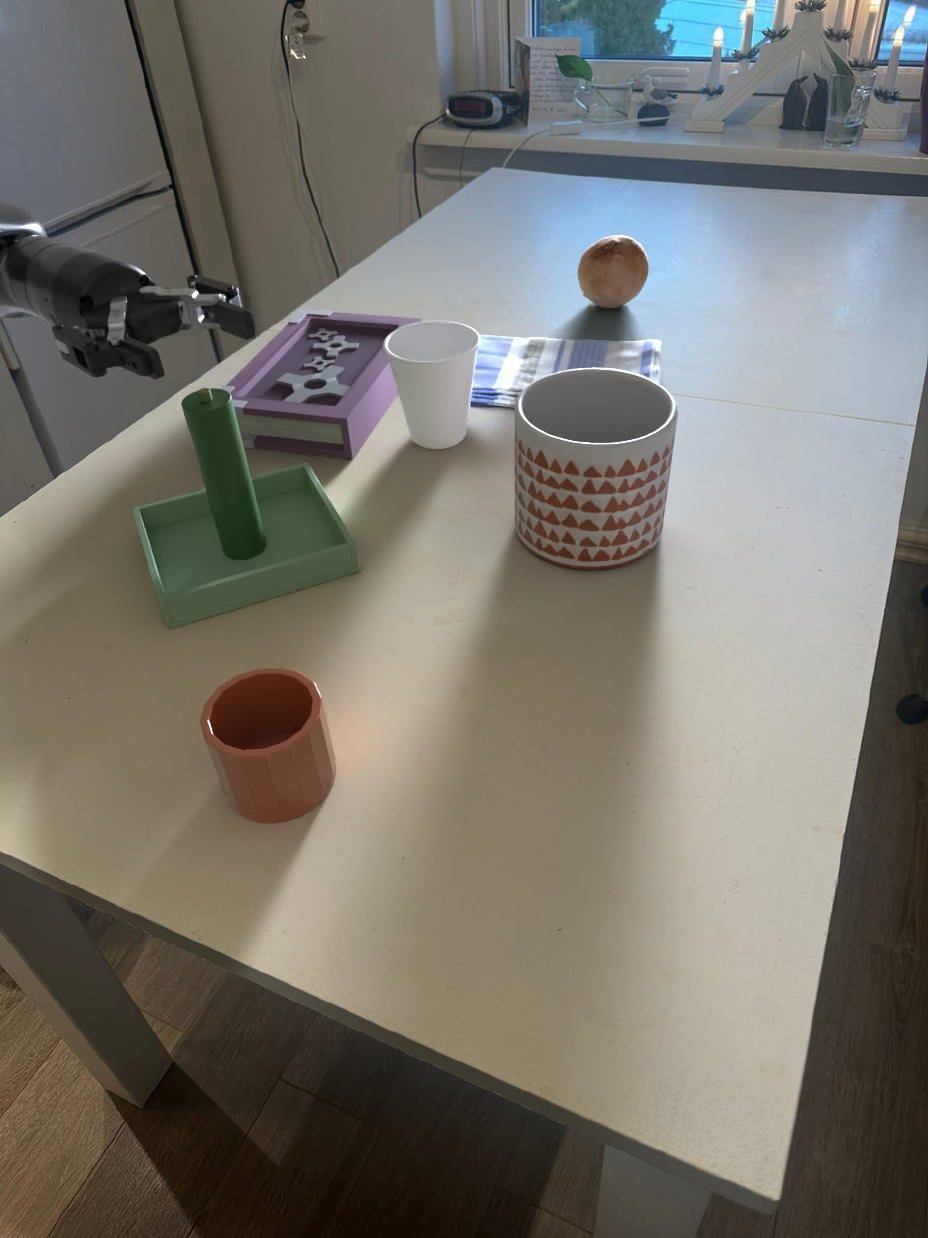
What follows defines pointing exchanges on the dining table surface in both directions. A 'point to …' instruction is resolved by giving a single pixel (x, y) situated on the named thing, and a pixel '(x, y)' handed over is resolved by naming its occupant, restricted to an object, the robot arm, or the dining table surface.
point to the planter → (592, 466)
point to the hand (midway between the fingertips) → (205, 345)
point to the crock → (270, 744)
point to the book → (317, 384)
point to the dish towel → (552, 363)
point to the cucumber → (225, 471)
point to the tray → (213, 583)
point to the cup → (434, 379)
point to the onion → (613, 271)
